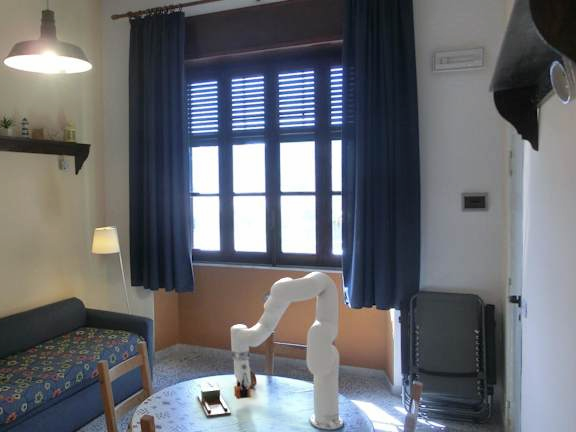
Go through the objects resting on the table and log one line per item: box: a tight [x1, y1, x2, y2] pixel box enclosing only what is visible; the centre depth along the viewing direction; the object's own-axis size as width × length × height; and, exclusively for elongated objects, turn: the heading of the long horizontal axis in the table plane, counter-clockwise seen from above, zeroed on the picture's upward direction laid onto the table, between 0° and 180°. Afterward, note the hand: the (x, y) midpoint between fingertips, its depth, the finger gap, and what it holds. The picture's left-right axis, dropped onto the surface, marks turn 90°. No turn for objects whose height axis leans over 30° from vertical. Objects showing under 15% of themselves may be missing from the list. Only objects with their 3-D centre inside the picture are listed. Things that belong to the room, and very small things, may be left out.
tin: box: [243, 368, 257, 388], centre depth 238 cm, size 15×3×8 cm, turn 25°
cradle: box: [197, 386, 232, 418], centre depth 216 cm, size 20×10×5 cm, turn 11°
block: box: [233, 385, 251, 400], centre depth 216 cm, size 6×4×4 cm, turn 101°
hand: (242, 395), depth 216 cm, fingers closed on block, 4 cm apart
